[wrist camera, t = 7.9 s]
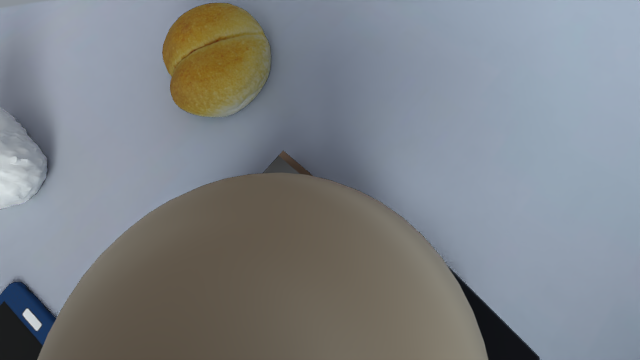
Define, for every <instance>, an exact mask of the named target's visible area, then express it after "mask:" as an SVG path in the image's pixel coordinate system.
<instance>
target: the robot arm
mask: <svg viewBox="0 0 640 360" xmlns="http://www.w3.org/2000/svg"><path fill="white" fill-rule="evenodd" d="M448 268H449V267H448ZM449 269H450V268H449ZM450 271H451V272H452V274H453V275H454V277H455V278H456V280H457V281H458V283H459V285H460V287H461V289H462V291H463V293H464V294H465V296H466V298H467V300H468V302H469V304H470V306H471V308H472V310H473V313H474V315H475V318H476V321H477V324H478V327H479V329H480V332H481V335H482V338H483V340H484V343H485V348H486V352H487V357H488V360H540V358H539V356H538V355H537V354H536V353H535V352H534V351H533V350H532V349H531V348H530V347H529V346H528V345H527V344H526V343H525V342H524V341H523V340H522V339H521V338H520V337H519V336H518V335H517V334H516V333H515V332H514V331H513V330H512V329H511V328H510V327H509V326H508V325H507V324H506V323H505V322H504V321H503V320H502V319H501V318H500V317H499V316H498V315H497V314H496V313H495V312H494V311H493V310H492V309H491V308H490V307H489V306H488V305H487V304H486V303H485V302H484V301H483V300H482V299H481V298H480V297H479V296H478V295H477V294H476V293H475V292H474V291H473V290H471V289H470V288H469V287H468V286H467V285H466V284H465V283H464V282H463V281H462V280H461V279H460V278H459V277H458V276H457V275H456V274H455V273H454V272H453V271H452V270H451V269H450Z"/></svg>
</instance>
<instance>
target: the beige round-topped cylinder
mask: <svg viewBox="0 0 640 360" xmlns="http://www.w3.org/2000/svg"><path fill="white" fill-rule="evenodd" d="M37 360H488V357H487V352H486V348H485V343H484V340H483V338H482V335H481V332H480V329H479V327H478V324H477V321H476V318H475V315H474V313H473V310H472V308H471V306H470V304H469V302H468V300H467V298H466V296H465V294H464V293H463V291H462V289H461V287H460V285H459V283H458V281H457V280H456V278H455V277H454V275H453V274H452V272H451V271H450V269H449V268H448V266H447V265H446V263H445V262H444V260H443V259H442V257H441V256H440V255H439V254H438V253H437V252H436V250H435V249H434V248H433V247H432V246H431V245H430V243H429V242H428V241H427V240H426V239H425V238H424V236H422V235H421V234H420V233H419V232H418V231H417V230H416V229H415V228H414V227H413V226H411V225H410V224H409V223H408V222H407V221H406V220H405V219H404V218H403V217H401V216H400V215H398V214H397V213H395V212H394V211H393V210H391V209H390V208H388V207H387V206H385V205H384V204H383V203H381V202H379V201H377V200H375V199H374V198H372V197H370V196H368V195H366V194H364V193H362V192H360V191H358V190H356V189H353V188H350V187H347V186H345V185H342V184H339V183H337V182H334V181H331V180H327V179H323V178H318V177H314V176H310V175H304V174H293V173H260V174H248V175H243V176H237V177H231V178H226V179H222V180H219V181H216V182H213V183H209V184H206V185H203V186H201V187H198V188H196V189H194V190H192V191H190V192H187V193H185V194H183V195H181V196H178V197H176V198H174V199H172V200H170V201H168V202H166V203H165V204H163V205H161V206H160V207H158V208H156V209H155V210H153V211H151V212H150V213H148V214H147V215H146V216H144V217H143V218H142V219H140V220H139V221H138V222H137V223H135V224H134V225H133V226H131V227H130V228H129V229H128V230H127V231H125V232H124V233H123V234H122V235H121V236H120V237H119V238H118V239H117V240H116V241H115V242H114V243H112V244H111V245H110V246H109V247H108V248H107V249H106V250H105V251H104V252H103V253H102V254H101V255H100V256H99V257H98V259H97V260H96V261H95V262H94V263H93V265H92V266H91V267H90V268H89V269H88V271H87V272H86V273H85V274H84V275H83V277H82V278H81V280H80V281H79V283H78V284H77V286H76V287H75V289H74V290H73V292H72V293H71V295H70V296H69V298H68V299H67V301H66V302H65V304H64V306H63V308H62V309H61V311H60V313H59V315H58V317H57V318H56V320H55V322H54V324H53V326H52V328H51V329H50V331H49V333H48V335H47V338H46V340H45V342H44V345H43V347H42V349H41V352H40V354H39V357H38V359H37Z"/></svg>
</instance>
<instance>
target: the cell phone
mask: <svg viewBox="0 0 640 360" xmlns="http://www.w3.org/2000/svg"><path fill="white" fill-rule="evenodd" d="M55 320H56V318H55V317H54V316H53V315H52V314H51V313H50V311H49V310H48V309H47V308H46V307H45V306H44V305H43V304H42V303H41V302H40V301H39V299H38V298H37V297H36V296H35V295H34V294H33V293H32V292H31V291H30V290H29V289H28V287H27V286H26V285H24V284H23V283H21V282H14V283H11V284H9V285H8V287H7V288H6V289H5V290H4V291H3V292H2V294H1V295H0V360H37V359H38V357H39V354H40V352H41V349H42V347H43V345H44V342H45V340H46V338H47V335H48V333H49V331H50V329H51V328H52V326H53V324H54V322H55Z"/></svg>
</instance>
